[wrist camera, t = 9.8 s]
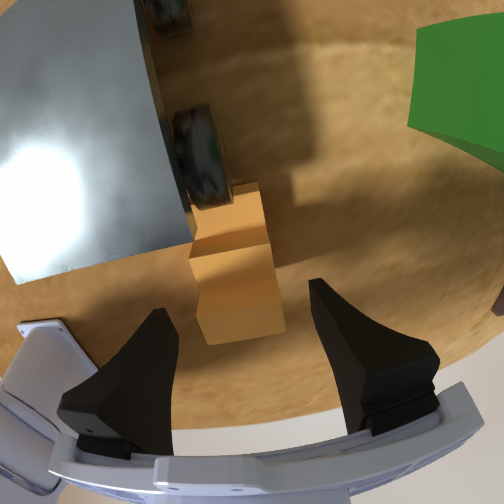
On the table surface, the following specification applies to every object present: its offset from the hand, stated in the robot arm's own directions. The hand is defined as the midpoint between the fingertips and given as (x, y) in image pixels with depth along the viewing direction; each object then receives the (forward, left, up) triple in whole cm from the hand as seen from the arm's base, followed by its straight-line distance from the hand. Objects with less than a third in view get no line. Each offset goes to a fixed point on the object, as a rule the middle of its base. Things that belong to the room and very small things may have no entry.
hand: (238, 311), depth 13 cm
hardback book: (+8, -22, -6) cm, 24 cm away
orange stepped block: (+2, 0, -5) cm, 6 cm away
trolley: (+12, +6, -5) cm, 14 cm away
